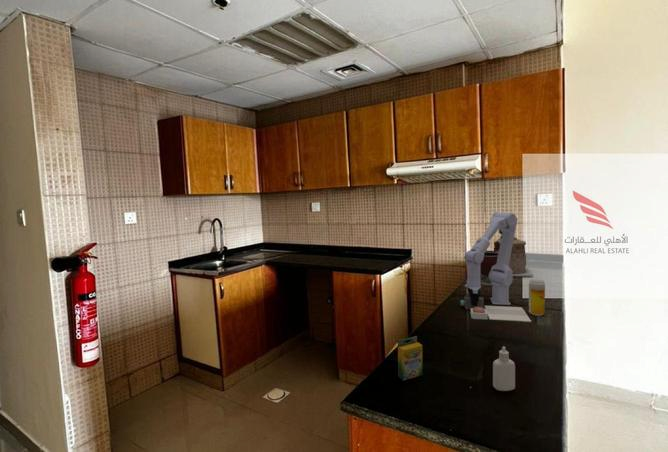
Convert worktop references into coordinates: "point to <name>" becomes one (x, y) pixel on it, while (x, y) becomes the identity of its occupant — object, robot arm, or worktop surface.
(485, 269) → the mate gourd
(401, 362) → the crayon box
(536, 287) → the beer glass
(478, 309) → the button
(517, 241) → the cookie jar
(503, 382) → the eye dropper bottle
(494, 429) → the worktop surface
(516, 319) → the white flat slab
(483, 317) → the button housing
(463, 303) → the grey block
